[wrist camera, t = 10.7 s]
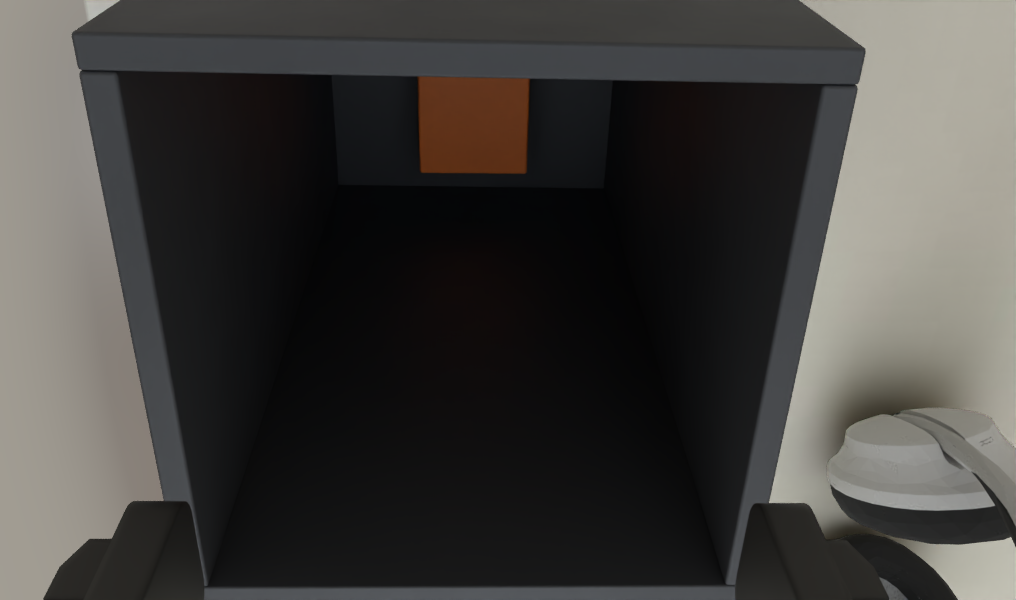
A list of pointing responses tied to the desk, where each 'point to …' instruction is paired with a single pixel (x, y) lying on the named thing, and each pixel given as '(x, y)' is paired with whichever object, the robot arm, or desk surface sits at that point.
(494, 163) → the block
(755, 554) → the robot arm
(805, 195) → the wastebasket
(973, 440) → the headphones
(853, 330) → the desk surface
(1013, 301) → the desk surface
